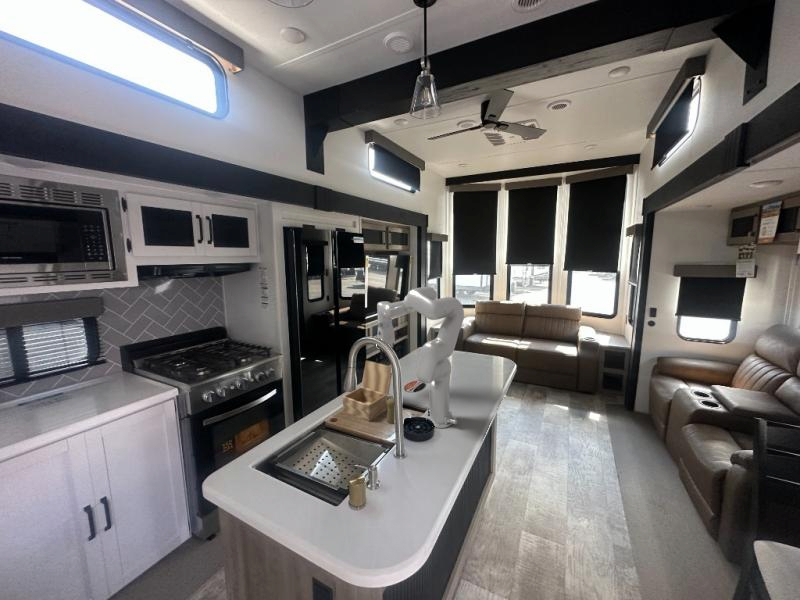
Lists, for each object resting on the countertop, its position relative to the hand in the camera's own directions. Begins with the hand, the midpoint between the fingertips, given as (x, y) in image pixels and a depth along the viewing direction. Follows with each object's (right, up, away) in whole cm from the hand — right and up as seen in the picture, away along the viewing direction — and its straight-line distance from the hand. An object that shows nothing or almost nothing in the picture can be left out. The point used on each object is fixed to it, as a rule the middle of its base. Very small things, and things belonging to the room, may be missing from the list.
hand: (386, 355), depth 171 cm
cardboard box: (-10, -26, -11) cm, 30 cm away
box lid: (-5, -10, -6) cm, 13 cm away
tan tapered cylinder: (+4, -27, -22) cm, 35 cm away
